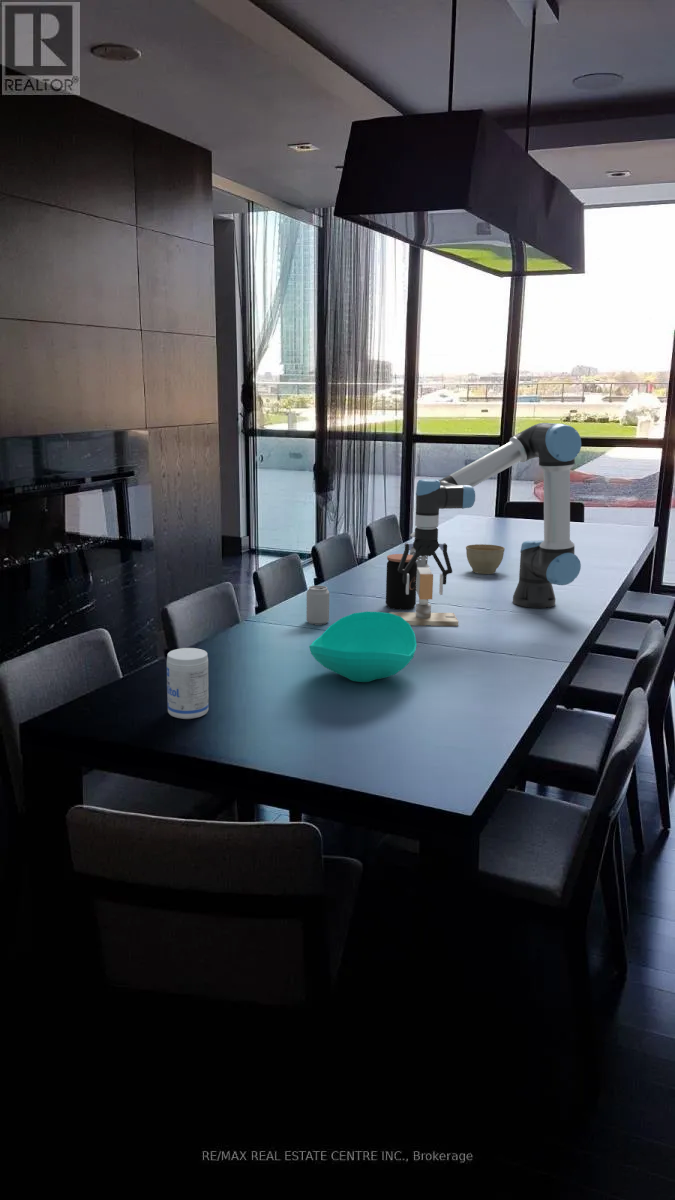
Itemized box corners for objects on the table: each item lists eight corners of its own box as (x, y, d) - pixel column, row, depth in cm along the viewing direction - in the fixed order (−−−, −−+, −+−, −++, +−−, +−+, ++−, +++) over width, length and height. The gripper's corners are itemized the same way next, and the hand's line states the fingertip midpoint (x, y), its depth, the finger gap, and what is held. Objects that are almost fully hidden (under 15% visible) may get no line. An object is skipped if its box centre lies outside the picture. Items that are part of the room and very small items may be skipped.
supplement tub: (159, 713, 203) (157, 653, 199) (190, 702, 210) (189, 644, 206) (186, 723, 197) (184, 662, 193) (217, 712, 204) (216, 653, 200)
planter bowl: (508, 571, 368) (510, 546, 365) (494, 578, 354) (495, 552, 352) (474, 567, 376) (475, 542, 373) (458, 573, 363) (459, 547, 360)
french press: (414, 563, 383) (416, 506, 377) (437, 566, 376) (439, 509, 370) (402, 566, 375) (404, 509, 369) (426, 569, 368) (428, 511, 362)
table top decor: (399, 708, 208) (401, 656, 204) (290, 697, 214) (290, 646, 211) (425, 660, 245) (427, 615, 242) (331, 651, 252) (332, 607, 248)
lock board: (453, 617, 292) (454, 601, 291) (458, 625, 281) (459, 609, 280) (388, 616, 292) (389, 600, 291) (391, 625, 281) (391, 608, 280)
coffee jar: (413, 611, 299) (415, 560, 295) (383, 609, 301) (384, 558, 297) (417, 603, 310) (419, 554, 305) (387, 602, 312) (389, 553, 307)
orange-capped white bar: (427, 599, 291) (429, 567, 288) (431, 608, 279) (433, 575, 277) (415, 599, 291) (416, 567, 288) (419, 608, 279) (420, 574, 277)
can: (332, 621, 285) (333, 586, 282) (323, 626, 278) (323, 590, 275) (312, 618, 288) (312, 583, 285) (302, 623, 281) (302, 588, 278)
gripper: (460, 526, 283) (457, 591, 288) (390, 525, 283) (388, 590, 288) (463, 529, 276) (460, 596, 281) (392, 528, 275) (390, 595, 281)
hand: (424, 593), depth 284 cm, fingers open, 10 cm apart
